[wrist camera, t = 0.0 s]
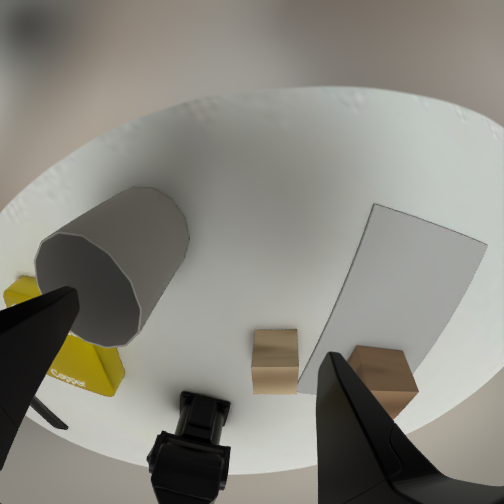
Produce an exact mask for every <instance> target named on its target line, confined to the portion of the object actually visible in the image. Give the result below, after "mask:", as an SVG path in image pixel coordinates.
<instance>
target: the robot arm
mask: <svg viewBox="0 0 504 504" xmlns="http://www.w3.org/2000/svg"><path fill="white" fill-rule="evenodd" d="M79 310H80V304H79V298H78V292H77V289H76V288H74V287H71V286H64V287H61V288H58V289H56V290H53V291H50V292H48V293H45V294H42V295H40V296H37V297H34V298H32V299H29V300H27V301H24V302H21V303H19V304H16V305H14V306H11V307H9V308H6V309H4V310H1V311H0V471H1V470H2V468H3V465H4V463H5V460H6V458H7V455H8V453H9V450H10V448H11V445H12V443H13V441H14V438H15V436H16V434H17V431H18V428H19V427H20V425H21V422H22V420H23V418H24V416H25V414H26V412H27V410H28V408H29V406H30V404H31V402H32V400H33V398H34V396H35V394H36V392H37V390H38V388H39V386H40V384H41V382H42V381H43V379H44V377H45V375H46V373H47V371H48V370H49V368H50V366H51V364H52V363H53V361H54V359H55V357H56V356H57V354H58V352H59V351H60V349H61V347H62V345H63V344H64V342H65V340H66V338H67V336H68V333H69V331H70V329H71V327H72V325H73V323H74V321H75V319H76V317H77V315H78V313H79ZM230 405H231V404H230V403H229V402H225V401H221V400H216V399H211V398H207V397H203V396H199V395H195V394H191V393H187V392H182V393H181V396H180V418H179V421H178V424H177V428H176V431H175V434H171V433H167V432H166V431H163V430H162V432H161V434H160V435H157V438H156V441H155V444H154V446H153V448H152V449H151V451H150V453H149V454H148V456H147V459H146V460H147V462H148V463H149V473H152V476H151V482H152V487H153V490H154V493H155V496H156V499H157V501H158V504H214V502H215V500H216V498H217V496H218V492H219V490H224V488H225V485H226V481H227V476H228V469H229V459H230V450H231V447H230V446H221V445H219V442H220V437H221V431H222V427H223V426H225V422H226V419H227V416H228V413H229V409H230ZM316 429H317V456H318V504H504V486H501V487H500V486H488V485H482V484H477V483H471V482H466V481H461V480H456V479H453V478H449V477H447V476H445V475H444V474H442V473H441V472H440V471H439V470H438V469H437V468H436V467H435V466H434V465H433V464H432V463H431V462H430V461H429V460H428V459H427V458H426V457H425V456H424V455H423V454H422V453H421V452H420V451H419V450H418V449H417V448H416V447H415V446H414V445H413V443H412V442H411V441H410V440H409V439H408V438H407V437H406V435H405V434H404V433H403V432H402V430H401V429H400V428H399V427H398V425H397V424H396V423H394V420H393V419H392V418H391V417H390V415H389V414H388V413H387V411H386V410H385V409H384V408H383V406H382V405H381V404H380V403H379V401H378V400H377V399H376V397H375V396H374V395H373V394H372V392H371V391H370V390H369V389H368V387H367V386H366V385H365V384H364V382H363V381H362V380H361V378H360V377H359V376H358V375H357V373H356V372H355V371H354V370H353V368H352V367H351V366H350V365H349V363H348V362H347V361H346V360H345V358H344V357H343V356H342V354H341V353H339V352H333V351H329V352H327V354H326V355H325V357H324V359H323V361H322V363H321V365H320V367H319V370H318V381H317V398H316ZM0 504H1V503H0Z"/></svg>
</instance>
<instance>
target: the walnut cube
mask: <svg viewBox="0 0 504 504" xmlns="http://www.w3.org/2000/svg"><path fill="white" fill-rule="evenodd" d="M347 362H348V363H349V365H350V366H351V367H352V368H353V370H354V371H355V372H356V373H357V375H358V376H359V377H360V378H361V380H362V381H363V382H364V384H365V385H366V386H367V387H368V389H369V390H370V391H371V392H372V394H373V395H374V396H375V397H376V399H377V400H378V401H379V403H380V404H381V405H382V406H383V408H384V409H385V410H386V411H387V413H388V414H389V415H390V417H391V418H392V419H394V418H395V417H396V416H397V415H398V414H399V413H400V412H401V411H402V410H403V409H404V408H405V407H406V406H407V405H408V403H409V402H410V401H411V400H412V399H413V398H414V397H415V396H416V394H417V393H418V392H419V391H418V388H417V385H416V383H415V380H414V377H413V375H412V372H411V370H410V367H409V365H408V362H407V360H406V357H405V355H404V352H403V351H400V350H391V349H382V348H374V347H366V346H358V345H356V347H355V349H354V350H353V352H352V354H351V356H350V357H349V359H348V361H347Z"/></svg>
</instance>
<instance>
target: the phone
mask: <svg viewBox="0 0 504 504" xmlns="http://www.w3.org/2000/svg"><path fill="white" fill-rule="evenodd" d="M30 406H31V407H32V408H33V409H34V410H36V411H37V412H38V413H39V414H40V415H41V416H42V417H43V418H44V419H45V420H46V421H47V422H49V423H50V424H51V425H52V426H53V427H55V428H57V429H64V430H67V429H68V426H67V425H66V424H65V423H63V422H62V421H61V420H60V419H59V418H58V417H57V416H56V415H54V414H53V413H52V412H51V411H50V410H49V409H48V408H47V407H46V406H45V405H44V404H43V403H42V402H41V401H40V400H39V399H38V398H37V397H36V396H34V398H33V400H32V402H31V404H30Z"/></svg>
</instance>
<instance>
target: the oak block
mask: <svg viewBox="0 0 504 504" xmlns="http://www.w3.org/2000/svg"><path fill="white" fill-rule="evenodd" d="M251 370H252V381H253V392H254V394H297V383H298V371H299V360H298V340H297V329H289V330H255V339H254V347H253V356H252V364H251Z"/></svg>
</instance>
